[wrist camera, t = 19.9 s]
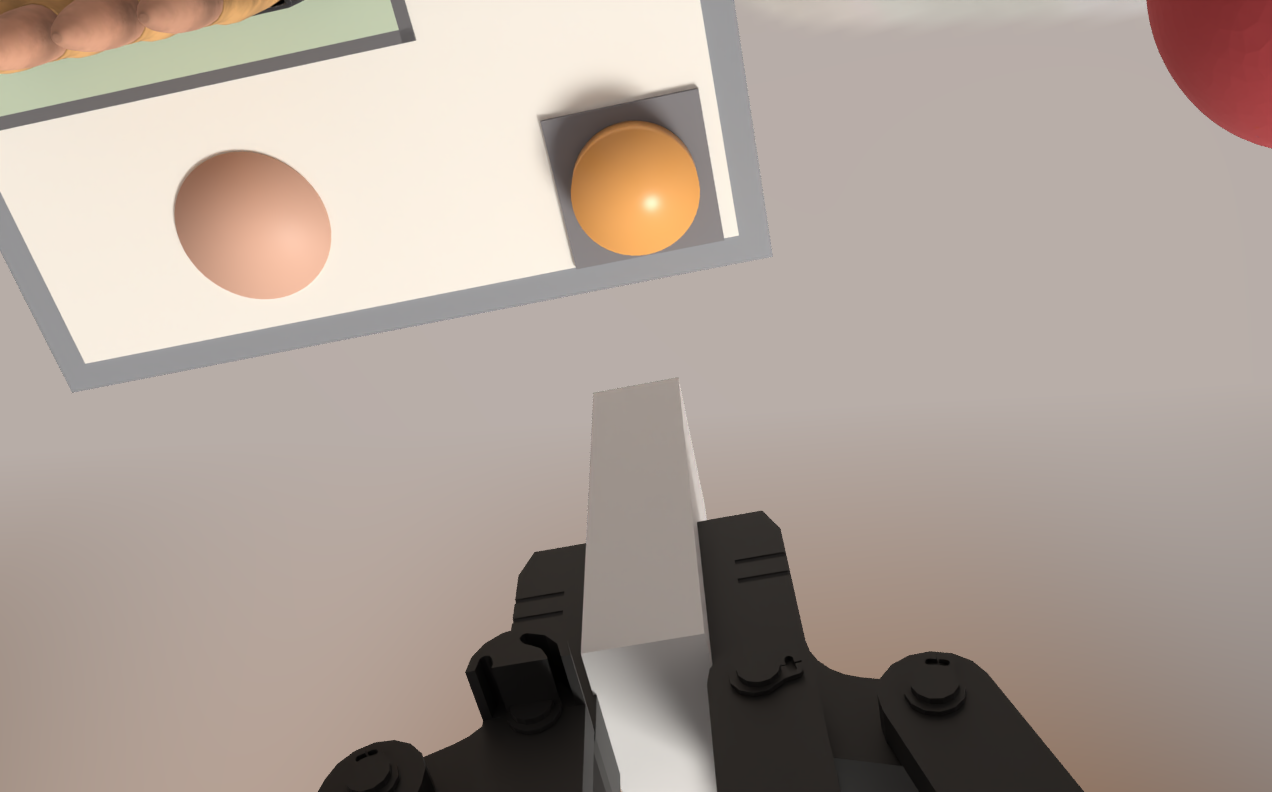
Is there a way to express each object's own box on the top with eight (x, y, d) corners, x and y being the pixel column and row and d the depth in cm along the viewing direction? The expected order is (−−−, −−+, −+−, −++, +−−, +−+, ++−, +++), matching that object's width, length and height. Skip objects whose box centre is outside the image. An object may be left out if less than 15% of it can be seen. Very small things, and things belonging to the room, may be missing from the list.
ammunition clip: (7, 57, 32) (-291, 168, 22) (-22, -7, 32) (-348, 76, 21) (347, -21, 31) (208, 56, 21) (325, -88, 31) (170, -44, 20)
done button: (559, 134, 34) (557, 144, 32) (685, 108, 33) (687, 118, 32) (587, 253, 35) (586, 266, 34) (707, 229, 35) (709, 242, 34)
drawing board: (-153, -97, 31) (-183, -94, 30) (686, -296, 29) (689, -301, 28) (84, 379, 39) (68, 396, 38) (768, 246, 37) (773, 259, 36)
